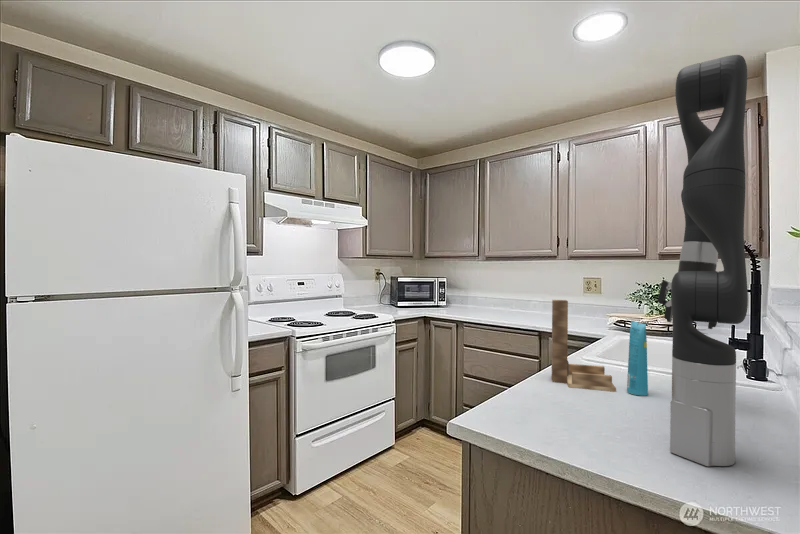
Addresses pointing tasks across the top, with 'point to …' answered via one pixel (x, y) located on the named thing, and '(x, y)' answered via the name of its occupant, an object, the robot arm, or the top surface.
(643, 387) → the tube
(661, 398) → the top surface
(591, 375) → the headboard bracket
